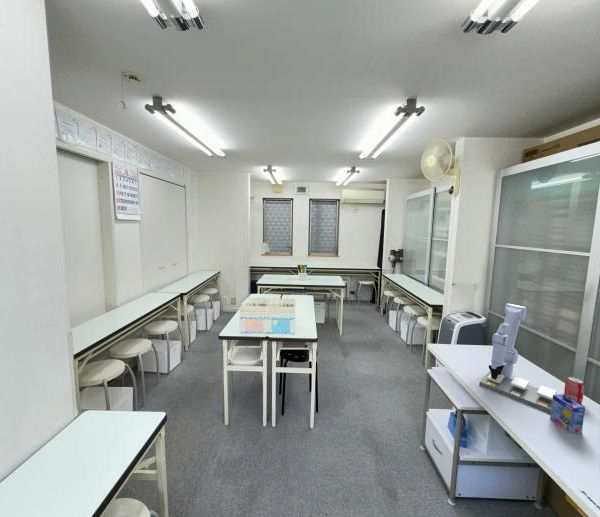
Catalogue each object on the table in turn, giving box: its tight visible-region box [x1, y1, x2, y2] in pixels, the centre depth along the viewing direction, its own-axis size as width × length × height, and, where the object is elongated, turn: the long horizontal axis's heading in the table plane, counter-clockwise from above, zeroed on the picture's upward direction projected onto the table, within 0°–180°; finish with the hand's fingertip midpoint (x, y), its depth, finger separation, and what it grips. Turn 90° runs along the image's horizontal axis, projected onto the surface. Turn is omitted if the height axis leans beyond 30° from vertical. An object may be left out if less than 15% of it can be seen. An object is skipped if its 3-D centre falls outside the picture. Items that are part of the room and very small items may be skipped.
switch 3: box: [537, 385, 557, 400], centre depth 141 cm, size 10×6×1 cm, turn 130°
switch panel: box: [479, 371, 552, 414], centre depth 149 cm, size 18×32×2 cm, turn 40°
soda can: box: [563, 376, 586, 405], centre depth 142 cm, size 7×7×12 cm
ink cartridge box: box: [549, 393, 586, 434], centre depth 124 cm, size 10×6×14 cm, turn 5°
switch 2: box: [511, 376, 530, 390], centre depth 150 cm, size 10×6×1 cm, turn 130°
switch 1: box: [487, 374, 505, 384], centre depth 158 cm, size 10×6×1 cm, turn 130°
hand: (495, 376), depth 158 cm, fingers open, 7 cm apart
